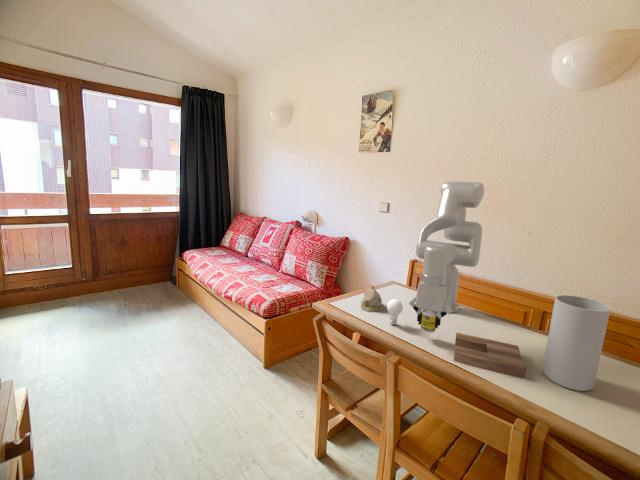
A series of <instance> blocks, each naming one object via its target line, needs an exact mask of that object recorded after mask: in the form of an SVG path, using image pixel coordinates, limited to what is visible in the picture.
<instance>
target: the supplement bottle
mask: <svg viewBox="0 0 640 480" xmlns="http://www.w3.org/2000/svg"><path fill="white" fill-rule="evenodd" d="M437 316H438V315H437V312H435V311H430V310H424V309H422V316H421V324H420V330H421V331H423V332H424V333H435V332H436V329H437V328H435V327H436V318H437Z"/></svg>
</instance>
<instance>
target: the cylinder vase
mask: <svg viewBox="0 0 640 480" xmlns="http://www.w3.org/2000/svg"><path fill="white" fill-rule="evenodd" d="M610 315H611V307H610V306H609V305H607V304H606V303H603V302H600V301H597V300H594V299H590V298H586V297H581V296H576V295H569V294H568V295H566V294H559V295H556V296H555V298H554V304H553V308H552V314H551V319H550V324H549V329H548V330H549V331H548V335H547V342H546V345H545V346H546V347H545V353H544V358H543V364H542V368H541V369H542V371H541V372H543V374H544V376H545V377H546V378H547V379H549V381H552V382H553V383H555V384H557V385H559V386H560V387H563V388H566V389H569V390H573V391H578V392H587V391H591V390H593V389H594V386H595V383H596V377H597V373H598V368H599V363H600V359H601V356H602V350H603V345H604V341H605V337H606V332H607V327H608V324H609V323H608V322H609V320H610V319H609V318H610Z"/></svg>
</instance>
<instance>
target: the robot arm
mask: <svg viewBox="0 0 640 480" xmlns="http://www.w3.org/2000/svg"><path fill="white" fill-rule="evenodd" d="M484 194H485V186H484V185H483V183H481V182H477V181H473V182H472V181H446V182H444V183H442V184H441V186H440V199H439V203H438V208H437V211H436V216H435V218H432V219H431V220H430V221H429V222H428V223H426V224H425V226H423V228H422V229H420V233H419V235H418V239H417V243H416V247H415V255H416V256H417V258H419V259H421V260H423V266H422V273H418V276H417V277H418V279H419V278H420V281H419V282H418V285H417V291H416V296H415V297H414V298H413V299H411V300H410V301H409V303H408V304H409V305H410V307H412V308H413V310H414V311H415V312H416V314H417V317H416V320H417V321H416V322H418V324H417V325H418V326H419V325H420V326H421V316H422V310H423V309H424V310H430V311H435V312H437V318H436V327H435V328H436V329H438V328H439V327H440V326H441V320H442V318H443V317H446V316H447V315H449V314H450V313H451V314H452V313H453V314H454V313H457V312H459V310H460V307H459V306H458V305H457V298H458V297H457V296H458V290H459V280H460V273H459V269H458V267H456V266H463V267H470V268H473V267H474V268H475V267H476V266H477V265H478V264H479V261H480V254H481V248H482V247H481V245H482V236H483V227H482V225H481V223H479V222H477V221H468V220H466V217H467V216H466V215H467V208H468V209H476V208H477V207H479V206H480V204H481V202H482V200H483V198H484ZM440 231H443V237H444V238H445V240H448V241H453V242H460V243H468V244H469V245H466V244H460V243H452V242H445V241H443V242H442V241H434V240H428V238H429V237H430V236H431V235H432V234H434V233H436V232H440Z"/></svg>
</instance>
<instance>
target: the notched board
mask: <svg viewBox="0 0 640 480" xmlns="http://www.w3.org/2000/svg"><path fill="white" fill-rule="evenodd" d="M453 353H454V354H453V361H454V362H459V363H463V364H466V365H471V366H474V367H478V368H483V369H486V370H491V371H494V372H497V373H498V372H499V373H502V374H506V375H510V376H515V377H518V378H522V379H524V378H525V375H526V374H525V373H526V367H525V363H524V360H523V356H522V354H521V351H520V347H519V346H518V345H517V344H512V343H507V342H502V341H498V340H493V339H489V338H484V337H480V336H474V335H470V334H466V333H461V332H456V333H455V341H454V352H453Z"/></svg>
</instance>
